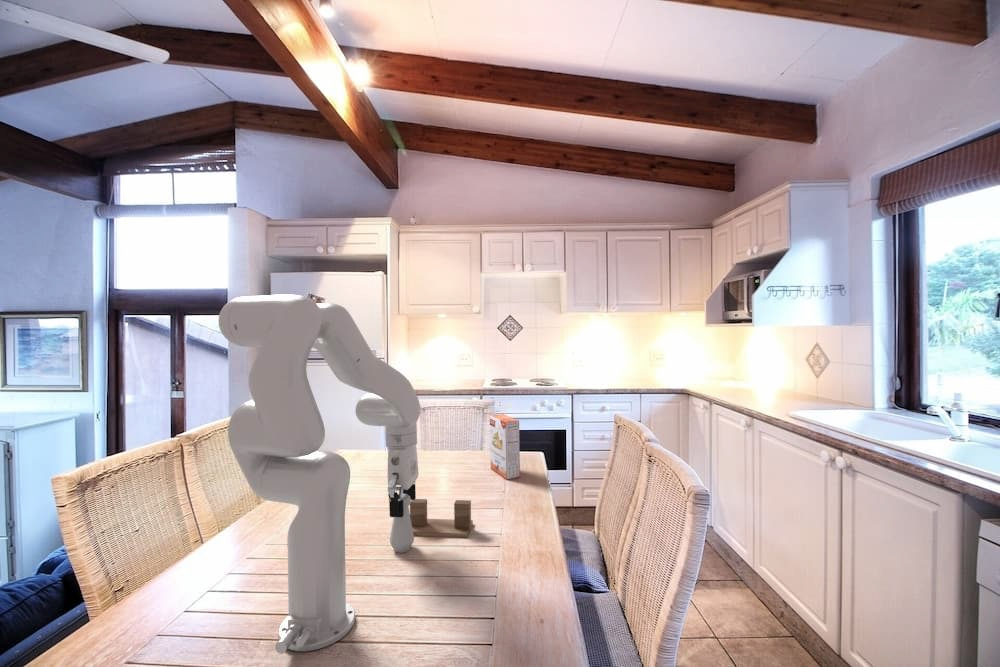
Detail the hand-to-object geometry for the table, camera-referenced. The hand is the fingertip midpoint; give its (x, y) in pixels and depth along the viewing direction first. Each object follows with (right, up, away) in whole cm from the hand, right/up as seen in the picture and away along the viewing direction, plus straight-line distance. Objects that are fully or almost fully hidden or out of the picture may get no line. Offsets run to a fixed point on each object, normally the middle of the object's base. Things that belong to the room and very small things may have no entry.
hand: (403, 507), depth 108 cm
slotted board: (+8, -10, +10) cm, 16 cm away
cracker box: (+25, -9, +55) cm, 61 cm away
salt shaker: (0, -10, -1) cm, 10 cm away
